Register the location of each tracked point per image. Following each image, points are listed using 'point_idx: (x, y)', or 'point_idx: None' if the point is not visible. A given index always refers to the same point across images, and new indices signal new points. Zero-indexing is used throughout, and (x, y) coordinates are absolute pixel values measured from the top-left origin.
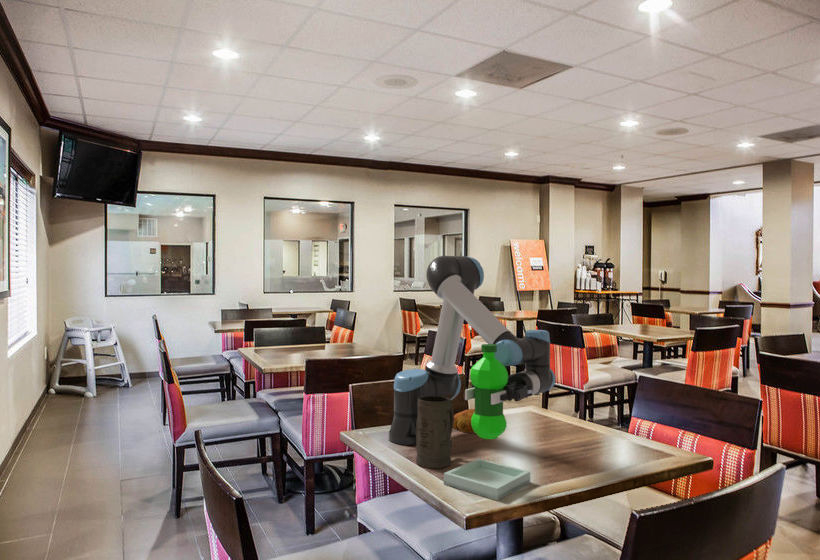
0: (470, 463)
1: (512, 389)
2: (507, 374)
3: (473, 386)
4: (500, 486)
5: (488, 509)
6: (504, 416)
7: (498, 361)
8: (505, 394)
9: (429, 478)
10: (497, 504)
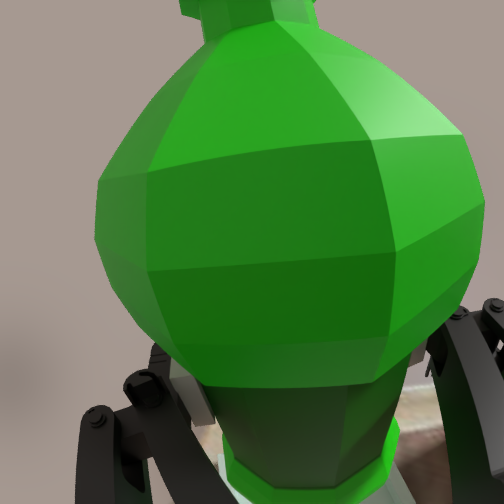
0: (403, 497)
1: (169, 477)
2: (98, 238)
3: (483, 307)
4: (221, 467)
5: (210, 427)
6: (256, 491)
7: (168, 81)
8: (161, 363)
9: (408, 415)
10: (211, 453)
